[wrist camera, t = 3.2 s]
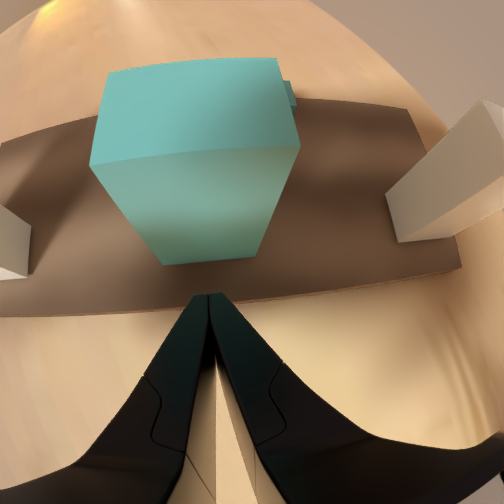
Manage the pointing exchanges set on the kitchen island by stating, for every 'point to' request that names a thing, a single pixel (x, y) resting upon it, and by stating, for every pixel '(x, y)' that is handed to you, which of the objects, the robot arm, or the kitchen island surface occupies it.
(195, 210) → the teal key
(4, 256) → the grey key
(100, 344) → the kitchen island surface
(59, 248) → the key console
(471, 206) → the grey key
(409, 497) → the robot arm
